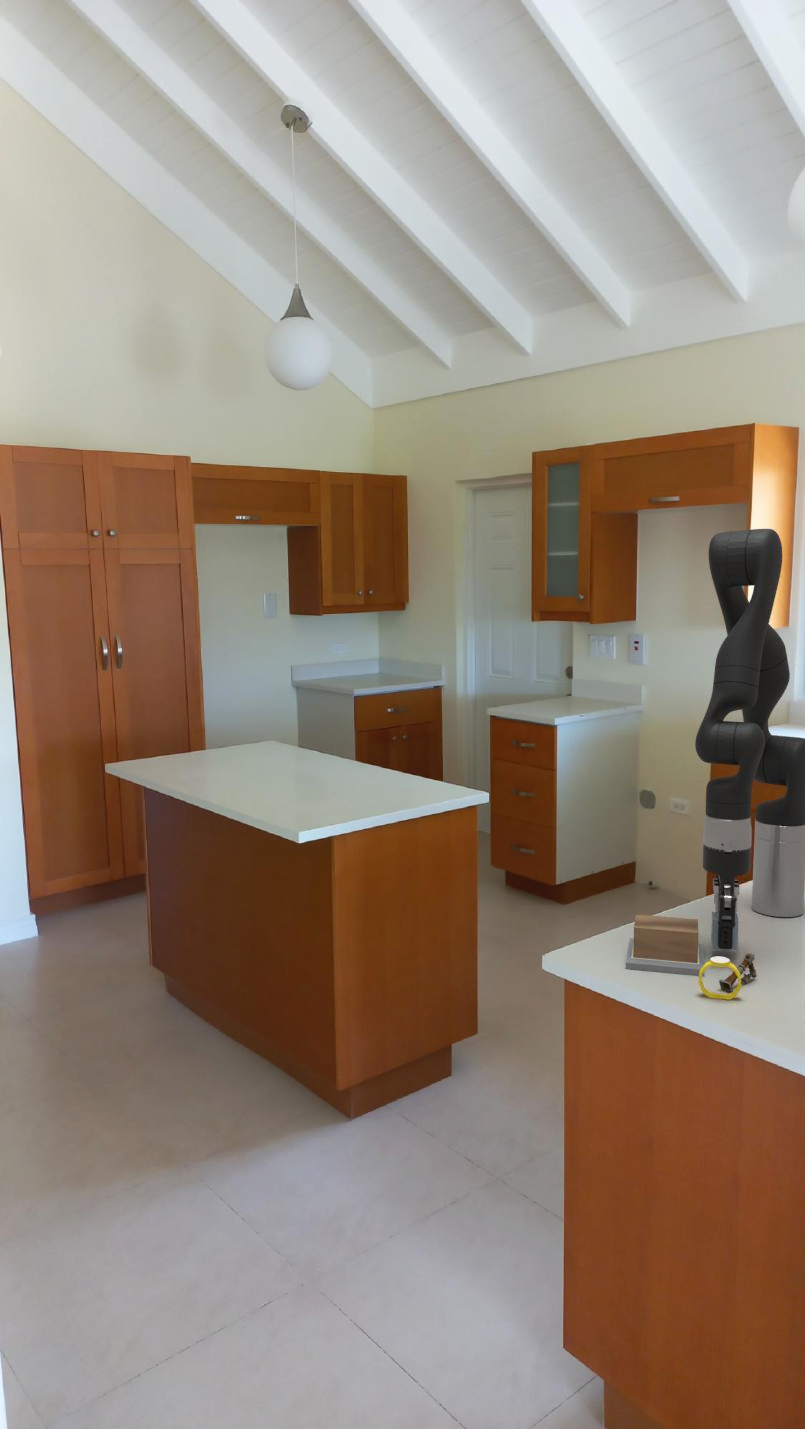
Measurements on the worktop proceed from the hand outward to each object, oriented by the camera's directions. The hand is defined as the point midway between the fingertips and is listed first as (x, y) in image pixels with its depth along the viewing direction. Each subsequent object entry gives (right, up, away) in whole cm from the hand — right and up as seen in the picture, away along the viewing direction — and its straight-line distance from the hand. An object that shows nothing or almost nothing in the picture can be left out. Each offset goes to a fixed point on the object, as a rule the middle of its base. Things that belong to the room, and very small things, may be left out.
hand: (724, 942), depth 165 cm
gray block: (0, 0, 0) cm, 0 cm away
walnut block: (-10, -1, -2) cm, 10 cm away
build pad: (-10, -2, -1) cm, 11 cm away
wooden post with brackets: (-2, -4, -12) cm, 13 cm away
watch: (-6, -4, -17) cm, 18 cm away
